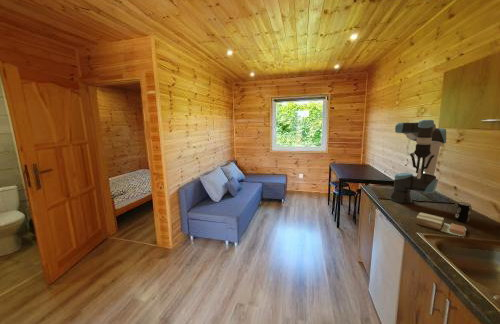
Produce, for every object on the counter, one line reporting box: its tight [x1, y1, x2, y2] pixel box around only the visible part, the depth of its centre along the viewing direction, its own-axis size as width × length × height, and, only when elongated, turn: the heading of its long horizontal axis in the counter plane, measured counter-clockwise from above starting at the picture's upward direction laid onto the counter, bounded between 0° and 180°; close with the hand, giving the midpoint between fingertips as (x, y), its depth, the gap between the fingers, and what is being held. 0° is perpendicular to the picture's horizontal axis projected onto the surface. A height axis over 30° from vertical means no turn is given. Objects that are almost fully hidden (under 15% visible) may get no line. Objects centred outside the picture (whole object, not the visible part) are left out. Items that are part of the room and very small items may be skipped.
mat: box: [440, 222, 467, 237], centre depth 124 cm, size 14×10×1 cm
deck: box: [414, 211, 445, 231], centre depth 133 cm, size 12×12×4 cm
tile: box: [449, 223, 466, 235], centre depth 123 cm, size 9×6×2 cm, turn 131°
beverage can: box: [454, 201, 472, 224], centre depth 135 cm, size 7×7×12 cm
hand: (418, 178), depth 140 cm, fingers closed
